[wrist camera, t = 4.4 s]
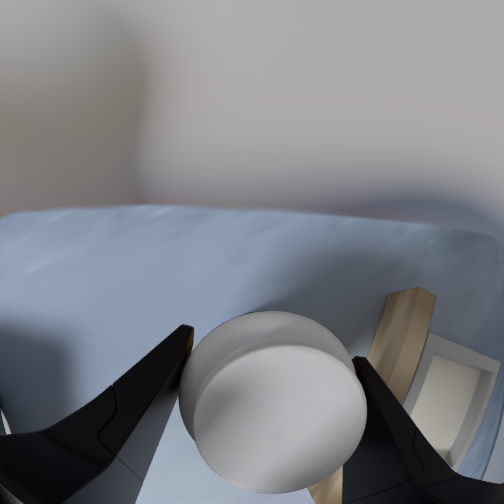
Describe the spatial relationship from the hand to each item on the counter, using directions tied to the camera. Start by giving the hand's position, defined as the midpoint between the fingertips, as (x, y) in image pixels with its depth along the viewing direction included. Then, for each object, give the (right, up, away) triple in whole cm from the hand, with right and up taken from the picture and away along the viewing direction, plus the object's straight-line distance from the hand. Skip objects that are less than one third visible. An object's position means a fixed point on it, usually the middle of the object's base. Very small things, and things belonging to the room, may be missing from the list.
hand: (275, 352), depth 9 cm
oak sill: (+6, -6, +6) cm, 10 cm away
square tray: (+13, -9, +5) cm, 17 cm away
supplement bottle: (-1, -3, +6) cm, 7 cm away
